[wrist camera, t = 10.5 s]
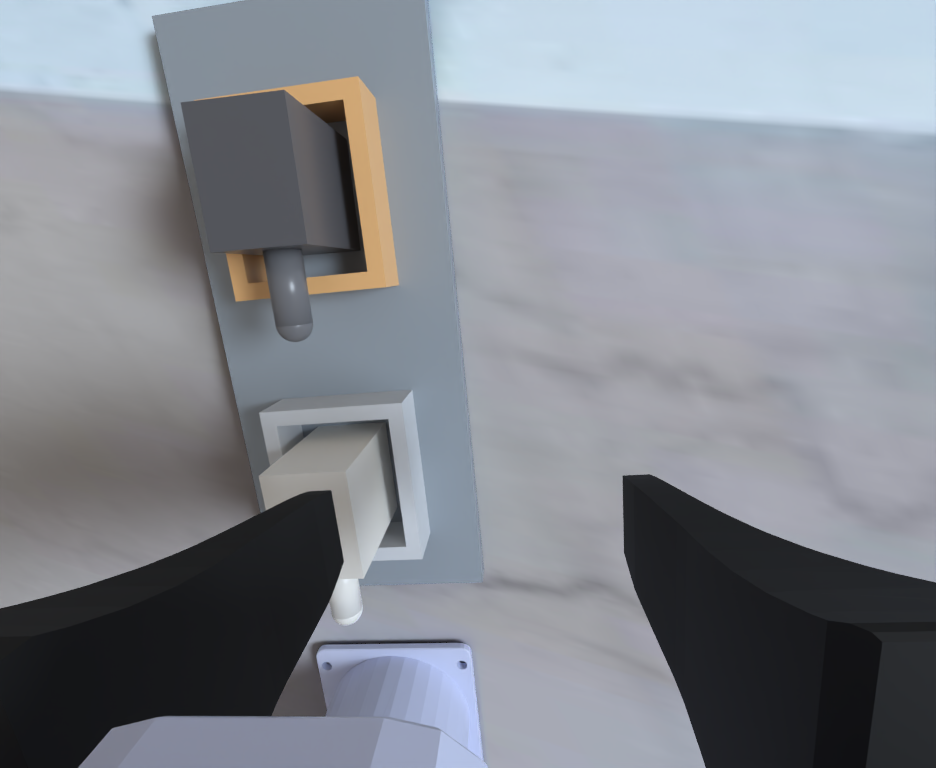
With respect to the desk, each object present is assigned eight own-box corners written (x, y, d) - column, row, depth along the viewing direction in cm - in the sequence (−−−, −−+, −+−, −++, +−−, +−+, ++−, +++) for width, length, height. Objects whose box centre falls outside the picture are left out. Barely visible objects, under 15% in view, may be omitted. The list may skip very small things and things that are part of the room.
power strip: (483, 568, 22) (475, 673, 17) (286, 574, 23) (213, 675, 18) (426, -13, 17) (383, -160, 11) (171, 29, 18) (9, -85, 12)
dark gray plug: (370, 326, 19) (322, 346, 14) (300, 331, 19) (230, 352, 14) (346, 139, 17) (283, 89, 13) (270, 147, 18) (180, 102, 13)
